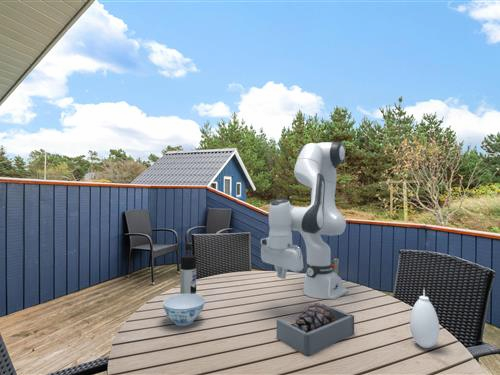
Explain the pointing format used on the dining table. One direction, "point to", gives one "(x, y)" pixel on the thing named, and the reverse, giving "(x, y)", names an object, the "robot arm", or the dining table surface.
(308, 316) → the pine cone
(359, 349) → the dining table surface
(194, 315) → the chinaware
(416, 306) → the sauce bottle
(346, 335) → the box
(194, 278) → the spray can
